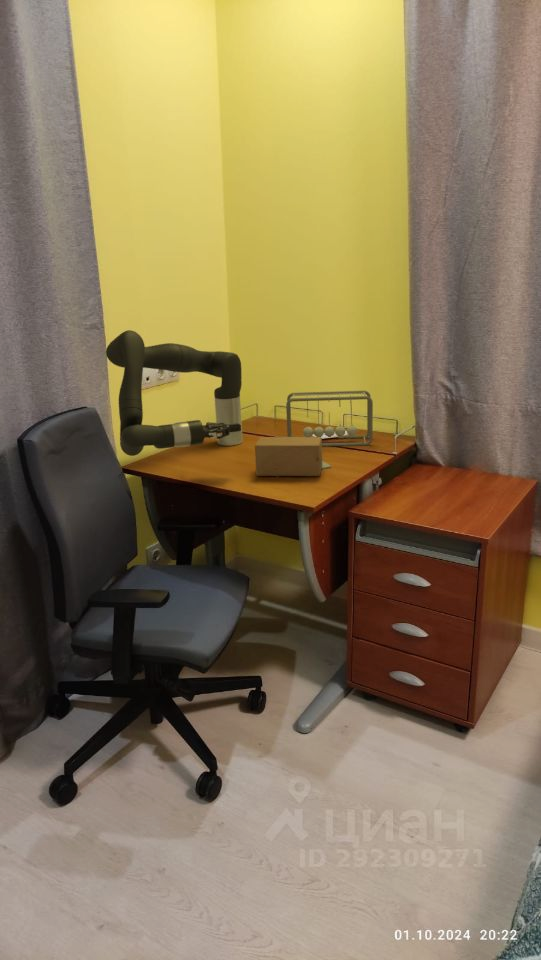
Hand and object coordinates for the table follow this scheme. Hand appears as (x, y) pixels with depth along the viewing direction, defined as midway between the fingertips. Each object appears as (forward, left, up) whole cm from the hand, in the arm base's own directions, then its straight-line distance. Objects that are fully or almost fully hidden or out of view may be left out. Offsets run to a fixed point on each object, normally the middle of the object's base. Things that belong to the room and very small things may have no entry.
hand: (240, 427), depth 222 cm
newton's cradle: (-18, +39, -15) cm, 46 cm away
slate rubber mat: (0, +17, -15) cm, 23 cm away
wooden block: (+2, +4, -9) cm, 11 cm away
